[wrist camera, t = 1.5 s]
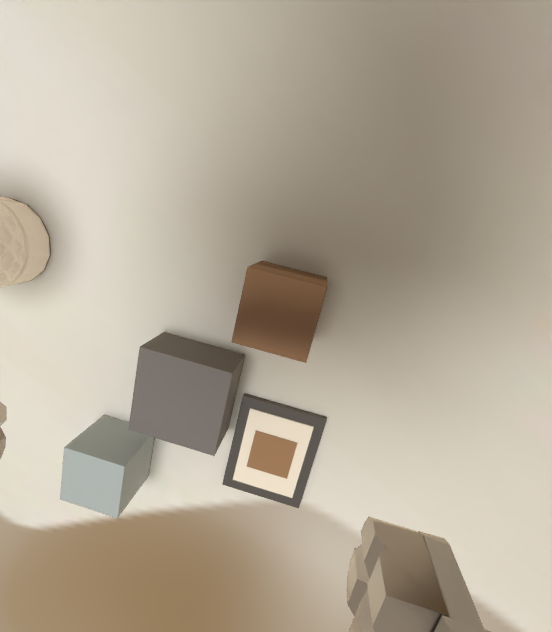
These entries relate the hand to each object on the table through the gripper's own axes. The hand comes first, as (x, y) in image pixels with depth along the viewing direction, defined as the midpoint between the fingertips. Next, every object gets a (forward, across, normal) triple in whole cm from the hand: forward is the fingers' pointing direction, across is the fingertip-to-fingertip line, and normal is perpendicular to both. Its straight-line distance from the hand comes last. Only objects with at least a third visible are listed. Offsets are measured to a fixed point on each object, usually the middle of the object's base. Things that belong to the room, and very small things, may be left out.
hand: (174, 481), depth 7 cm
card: (+20, -2, +13) cm, 23 cm away
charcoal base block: (+20, +6, +8) cm, 22 cm away
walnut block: (+20, 0, 0) cm, 20 cm away
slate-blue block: (+20, +11, +17) cm, 28 cm away
